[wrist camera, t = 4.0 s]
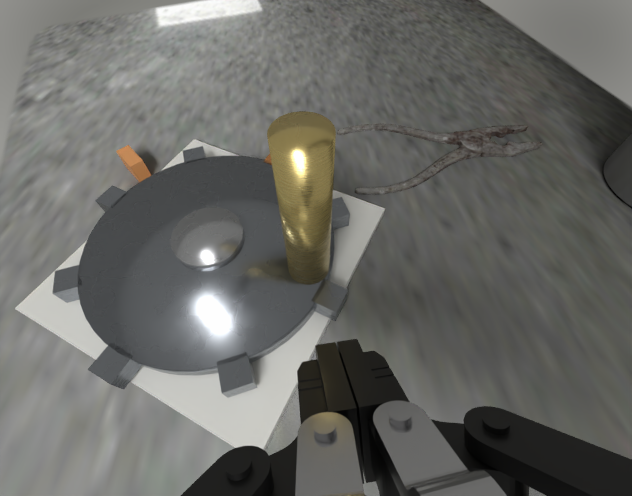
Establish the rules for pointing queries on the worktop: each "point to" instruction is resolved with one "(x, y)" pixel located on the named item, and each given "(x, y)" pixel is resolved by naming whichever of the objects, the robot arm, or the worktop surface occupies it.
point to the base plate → (204, 390)
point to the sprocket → (213, 259)
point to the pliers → (470, 147)
